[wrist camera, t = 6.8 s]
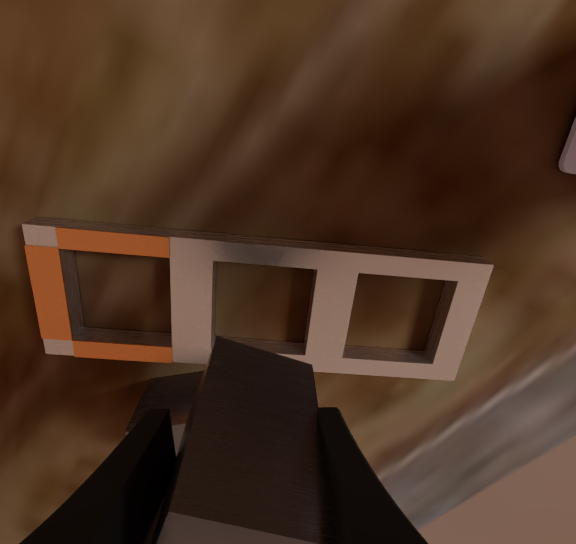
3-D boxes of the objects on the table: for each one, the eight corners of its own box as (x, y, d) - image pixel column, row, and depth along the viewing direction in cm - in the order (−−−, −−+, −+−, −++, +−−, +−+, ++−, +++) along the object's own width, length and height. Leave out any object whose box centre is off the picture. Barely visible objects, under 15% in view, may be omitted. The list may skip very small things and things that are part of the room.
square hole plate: (481, 256, 19) (495, 265, 18) (445, 367, 22) (454, 381, 21) (37, 217, 18) (20, 224, 16) (58, 340, 20) (44, 355, 19)
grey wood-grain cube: (209, 369, 22) (195, 422, 18) (222, 414, 23) (212, 472, 19) (150, 378, 22) (124, 432, 18) (167, 422, 23) (146, 481, 19)
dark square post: (312, 364, 13) (337, 547, 8) (278, 434, 14) (278, 635, 9) (216, 335, 13) (168, 511, 7) (189, 411, 14) (130, 610, 8)
